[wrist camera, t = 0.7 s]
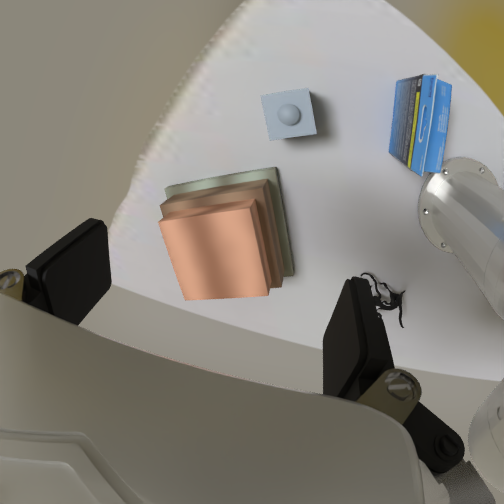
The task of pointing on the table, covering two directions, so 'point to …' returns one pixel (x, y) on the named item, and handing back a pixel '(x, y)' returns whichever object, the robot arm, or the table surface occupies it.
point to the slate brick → (288, 114)
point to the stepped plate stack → (227, 235)
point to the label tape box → (420, 122)
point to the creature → (393, 303)
